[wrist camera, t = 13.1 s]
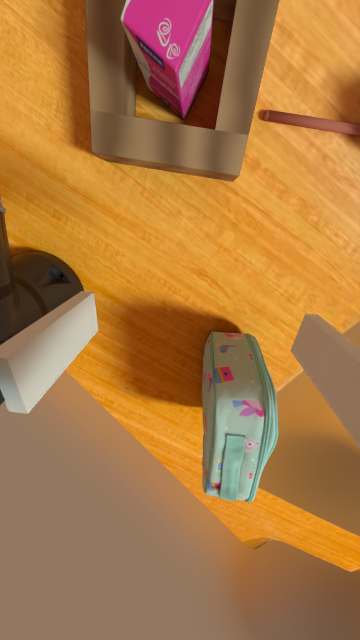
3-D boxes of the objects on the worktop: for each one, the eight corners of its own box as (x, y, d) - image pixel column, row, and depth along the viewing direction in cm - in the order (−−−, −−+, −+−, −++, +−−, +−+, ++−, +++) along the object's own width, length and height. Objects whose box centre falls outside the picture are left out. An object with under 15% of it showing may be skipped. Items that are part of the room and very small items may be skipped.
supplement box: (147, 91, 27) (116, 15, 17) (171, 33, 24) (153, -99, 14) (183, 123, 28) (175, 71, 18) (210, 71, 26) (219, -26, 15)
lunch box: (240, 414, 53) (265, 526, 34) (200, 412, 54) (202, 521, 35) (254, 323, 41) (305, 417, 22) (202, 322, 42) (207, 413, 23)
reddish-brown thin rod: (261, 121, 27) (263, 118, 26) (264, 111, 27) (266, 108, 26) (357, 136, 27) (363, 134, 26) (362, 127, 27) (367, 124, 26)
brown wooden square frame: (107, 161, 30) (92, 152, 26) (103, -59, 22) (79, -129, 17) (233, 181, 30) (239, 175, 26) (279, -31, 22) (300, -95, 17)
